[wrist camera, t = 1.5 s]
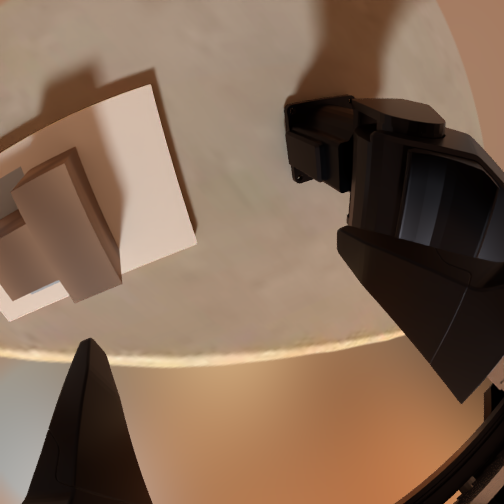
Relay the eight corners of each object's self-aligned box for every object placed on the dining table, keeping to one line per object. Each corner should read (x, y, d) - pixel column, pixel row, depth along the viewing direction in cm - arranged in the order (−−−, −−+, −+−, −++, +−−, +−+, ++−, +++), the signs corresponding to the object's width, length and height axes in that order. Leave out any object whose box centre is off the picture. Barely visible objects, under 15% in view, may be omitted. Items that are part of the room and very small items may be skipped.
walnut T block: (75, 146, 15) (64, 163, 12) (119, 249, 20) (122, 283, 17) (-15, 196, 13) (-38, 223, 10) (37, 285, 18) (29, 322, 15)
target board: (149, 84, 16) (150, 84, 15) (194, 237, 23) (197, 244, 22) (-61, 197, 12) (-67, 203, 11) (11, 314, 19) (9, 322, 18)
